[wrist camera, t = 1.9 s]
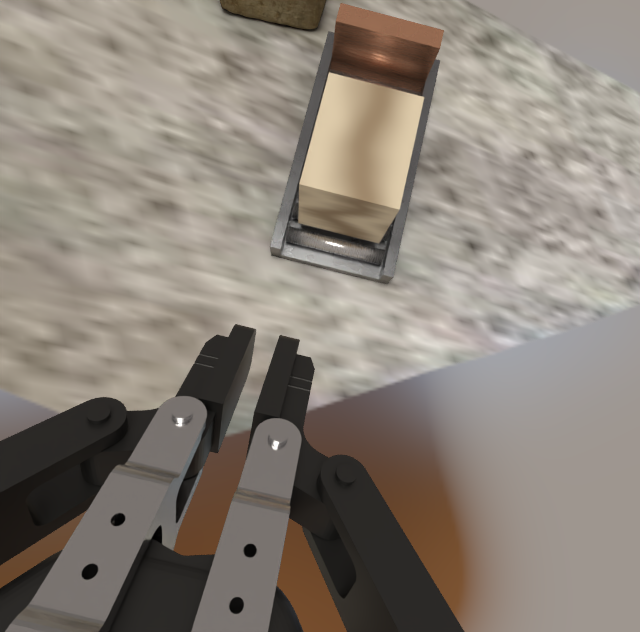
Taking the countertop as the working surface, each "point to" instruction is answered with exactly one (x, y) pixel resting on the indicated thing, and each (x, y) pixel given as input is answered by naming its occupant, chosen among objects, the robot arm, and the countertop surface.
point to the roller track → (339, 58)
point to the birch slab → (358, 158)
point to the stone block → (279, 11)
